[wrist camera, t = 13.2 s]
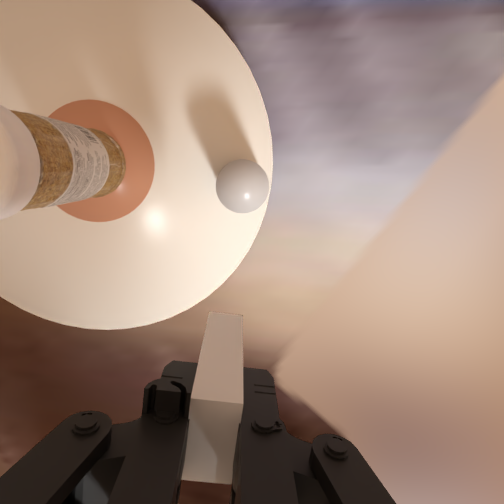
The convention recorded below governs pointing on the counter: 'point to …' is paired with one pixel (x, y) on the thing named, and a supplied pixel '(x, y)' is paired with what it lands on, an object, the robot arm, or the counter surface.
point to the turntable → (135, 159)
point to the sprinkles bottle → (53, 162)
